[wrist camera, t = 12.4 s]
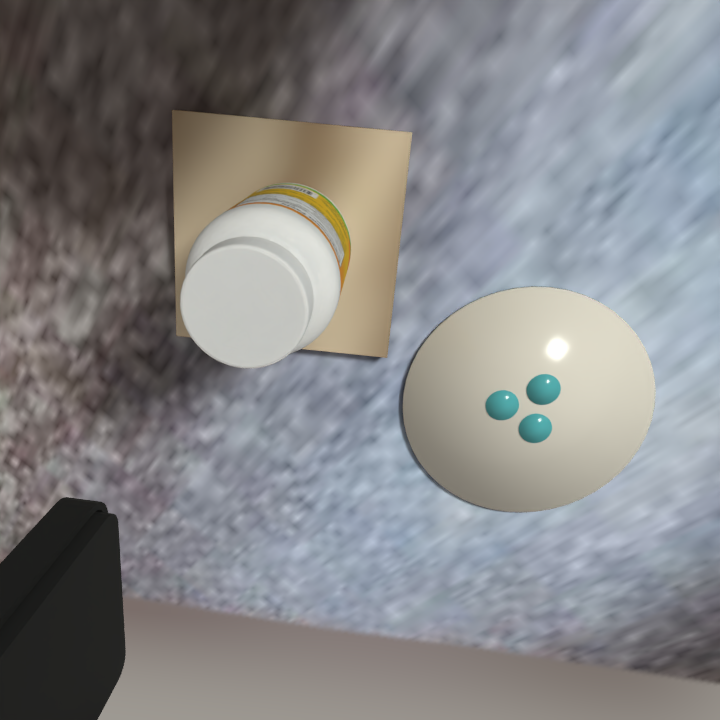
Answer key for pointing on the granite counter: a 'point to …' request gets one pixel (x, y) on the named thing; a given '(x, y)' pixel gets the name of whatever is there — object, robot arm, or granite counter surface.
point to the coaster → (528, 399)
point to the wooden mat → (313, 169)
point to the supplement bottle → (266, 276)
